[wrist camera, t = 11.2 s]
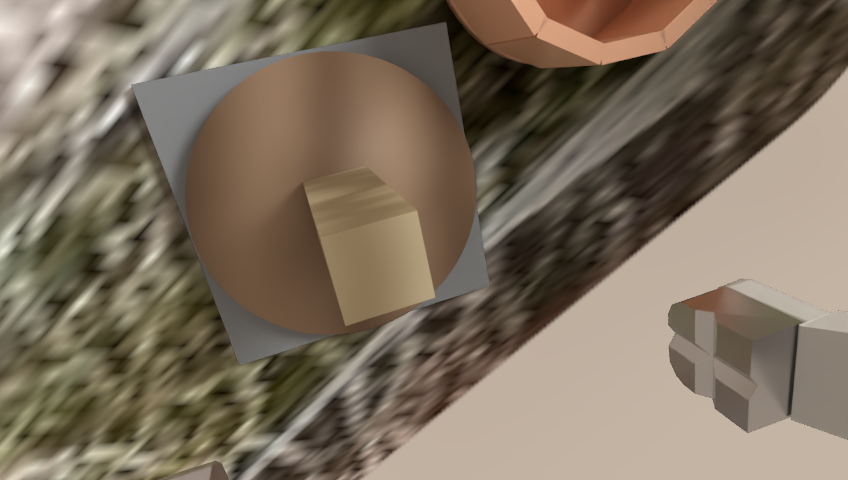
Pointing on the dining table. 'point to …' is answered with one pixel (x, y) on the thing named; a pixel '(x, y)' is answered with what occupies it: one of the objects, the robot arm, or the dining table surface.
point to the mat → (202, 91)
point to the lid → (330, 192)
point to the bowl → (576, 28)
